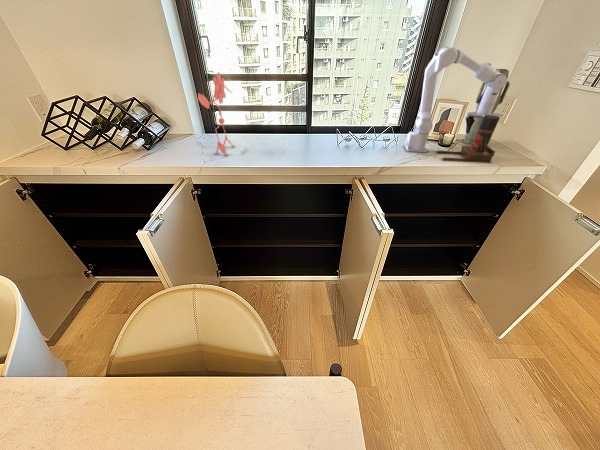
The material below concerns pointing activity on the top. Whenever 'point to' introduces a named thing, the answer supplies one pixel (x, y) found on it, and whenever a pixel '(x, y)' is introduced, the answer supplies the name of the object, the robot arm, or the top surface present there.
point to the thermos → (476, 125)
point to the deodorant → (485, 133)
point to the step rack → (471, 154)
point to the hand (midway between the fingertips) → (475, 133)
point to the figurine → (218, 95)
